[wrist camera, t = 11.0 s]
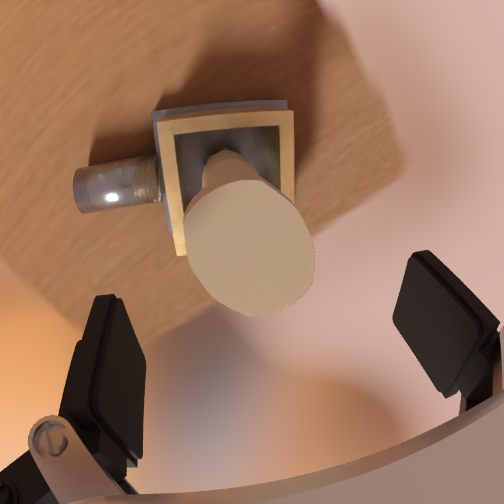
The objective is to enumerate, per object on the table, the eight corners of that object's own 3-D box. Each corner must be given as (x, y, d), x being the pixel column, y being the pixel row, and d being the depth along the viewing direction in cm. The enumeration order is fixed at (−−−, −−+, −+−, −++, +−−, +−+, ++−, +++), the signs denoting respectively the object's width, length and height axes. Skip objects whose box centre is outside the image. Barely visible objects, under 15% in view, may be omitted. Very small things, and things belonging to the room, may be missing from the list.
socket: (78, 126, 23) (47, 139, 17) (282, 99, 25) (307, 103, 19) (102, 237, 28) (83, 273, 23) (284, 213, 30) (305, 245, 25)
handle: (233, 119, 24) (274, 158, 11) (267, 184, 27) (331, 284, 14) (180, 148, 24) (157, 221, 11) (218, 210, 27) (237, 330, 15)
